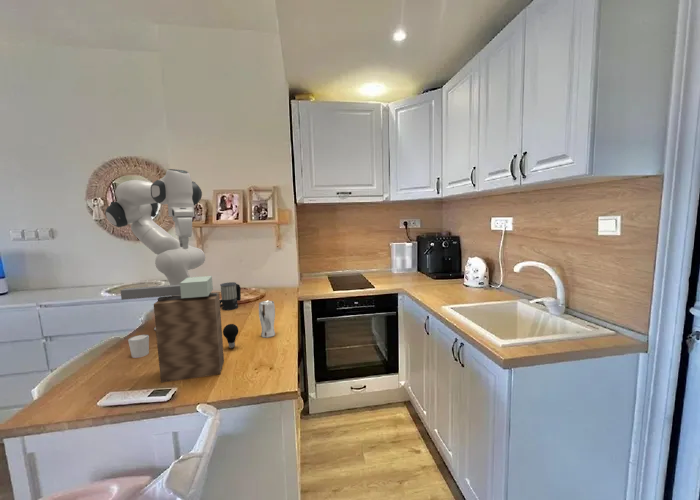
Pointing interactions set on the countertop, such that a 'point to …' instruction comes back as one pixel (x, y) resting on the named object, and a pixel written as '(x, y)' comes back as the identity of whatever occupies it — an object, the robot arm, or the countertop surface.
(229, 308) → the milk frother
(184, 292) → the grey mallet
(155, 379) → the countertop surface
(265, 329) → the beer glass
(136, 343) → the white short cylinder
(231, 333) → the light bulb
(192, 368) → the walnut stand
